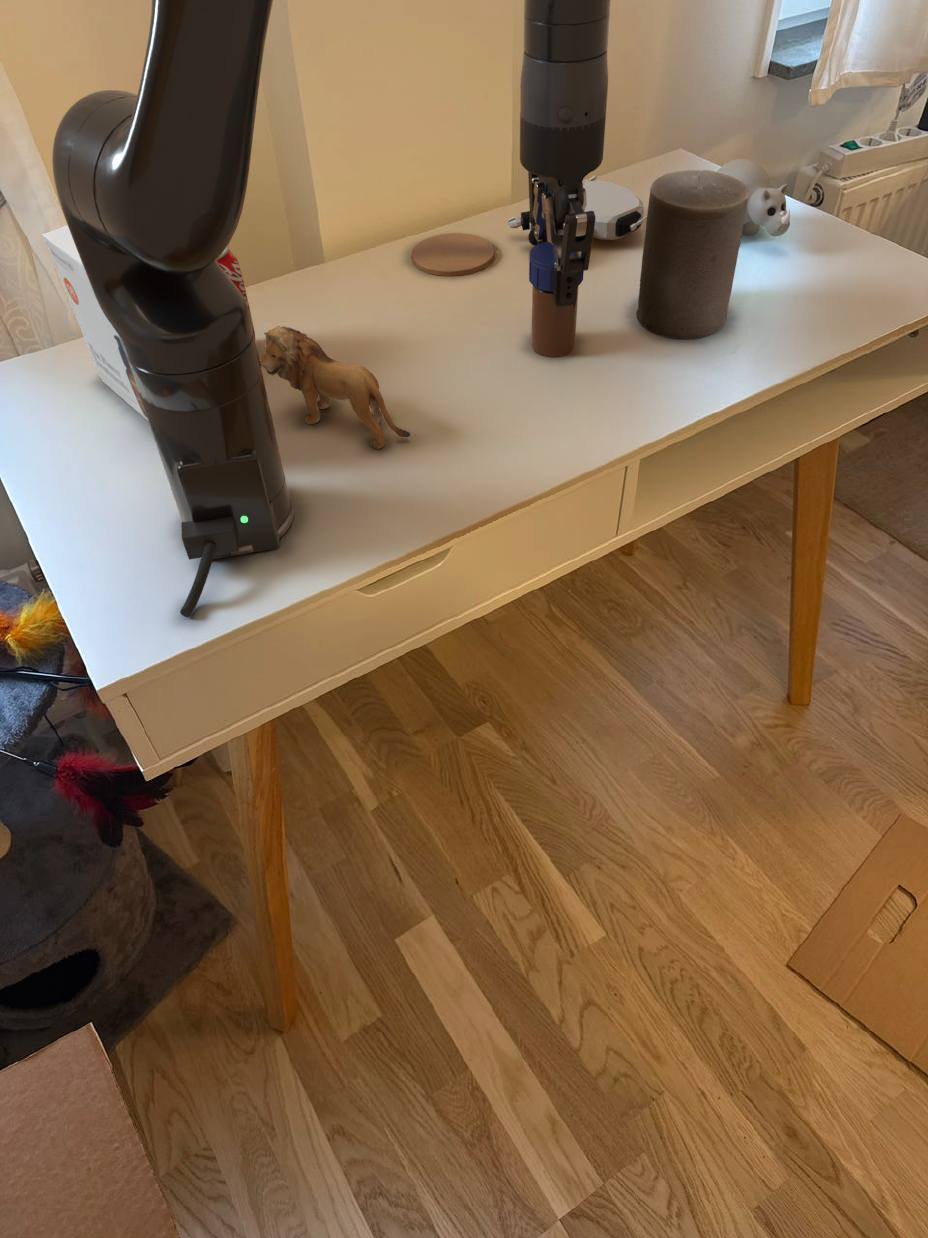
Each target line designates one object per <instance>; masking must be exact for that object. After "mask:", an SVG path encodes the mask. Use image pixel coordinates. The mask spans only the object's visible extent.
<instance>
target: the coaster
mask: <svg viewBox="0 0 928 1238" xmlns="http://www.w3.org/2000/svg"><path fill="white" fill-rule="evenodd" d="M494 259H495V248H494V246H493V244H492V243H491V242H490V241H489V240H487V239H485V238H483V237H482V236H478V235H474V234H469V233H461V232H458V233H457V232H456V233H455V232H452V233H444V234H437V235H434V236H430V237H428V238H424V239H423V240H421V241H419V242H418V243H417V244H415V245H414V247H413V248H412V250H411V261H412V263H413V265H414V266H415V267H416V268H417V269H419V270H420V271H422V272H425V273H427V274H431V275H435V276H442V277H456V276H465V275H469V274H473V273H476V272H479V271H482V270H483V269H485V268H487V267H488V266H489V265H491V263H492V262H493V261H494Z"/></svg>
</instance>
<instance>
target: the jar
mask: <svg viewBox="0 0 928 1238" xmlns="http://www.w3.org/2000/svg"><path fill="white" fill-rule="evenodd" d="M579 287H580V285H579V286H578V288H577V301H576V303H575V304H573V305H568V306H561V307H558V306H556V304H555V303H554V301H553V294H554V292H550V291H544V290H541V289H538V288H536V287H534V286H533V285H532V288H531V289H532V292H531V294H532V296H531V297H532V298H531V338H530V340H531V341H530V346H531V350H533V351H534V352H535V353H536V354H538V355H540V356H543V357H548V358H559V357H563V356H567V355H568V354H571V353H572V352H573V351H574V349H575V348H576V336H577V332H576V331H577V320H578V319H577V318H578V302H579Z"/></svg>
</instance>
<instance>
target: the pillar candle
mask: <svg viewBox="0 0 928 1238" xmlns="http://www.w3.org/2000/svg"><path fill="white" fill-rule="evenodd" d="M750 194H751V193H750V191H749V190H748V186H747V185H745V184H744V183H743V182H742V181H740V180H738V179H736V178H734V177H732V176H729V175H726V174H721V173H718V172H717V171H715V170H711V169H702V170H700V169H691V170H689V169H687V170H677V171H673V172H672V171H671V172H668V173H665V174H662V175H661V176H659V177H657V178H656V179H655V180H654V181H653V182H652V183H651V186H650V188H649V197H648V204H647V212H646V213H647V214H646V216H647V219H646V220H645V221H646V222H645V230H644V231H645V232H644V241H643V249H642V256H641V266H640V267H641V270H640V278H639V289H638V299H637V300H638V302H637V309H636V319H637V322H638V323H639V324H641V326H642V327H643V328H644V329H645V330H647V331H648V332H651V334H655V335H658V336H661V337H667V338H670V339H671V338H672V339H681V340H683V339H685V340H686V339H687V340H691V339H693V340H694V339H699V338H704V337H706V336H710V335H713V334H715V333H716V332H719V330H721V329H722V328H723V327H724V326H725V323H726V321H727V318H728V317H727V316H728V309H729V304H730V300H731V294H732V290H733V286H734V285H733V284H734V280H735V279H734V278H735V274H736V273H735V272H736V268H737V262H738V256H739V251H740V246H741V239H742V236H743V234H742V229H743V223H744V218H745V213H746V208H747V202H748V198H749V196H750Z"/></svg>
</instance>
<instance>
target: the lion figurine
mask: <svg viewBox="0 0 928 1238" xmlns="http://www.w3.org/2000/svg"><path fill="white" fill-rule="evenodd" d="M263 333H264V335H265V347H264V349H265V350H264V351H265V353H264V354H263V356H262V358H261V359H259V360H260V365H261V368H263V369H264V370H265V371H266V373H267V375H268V376H269V377H273V376H275V375H277V376H278V377H279V378H280V379H283V380H286V381H287V382H288V383H289V384H290V387H291V388H293V389H295V390H297V391H300V392H301V393H302V396H303V399H304V402H305V404H306V406H307V408H308V410H309V412H310V414H307V415H305V419H304V421H305V423H306V424H307V425H314V424H317V423H318V422H319V421H320V420H321V412H320V410H325V409H327V408H329V407H330V404H331V403H330V399H333V400H337V401H346V400H347V401H348V400H349V404H350V406H351V408H352V410H353V412H354V413H355V415H356V416H357V418H358V420H360V421H361V423H362V424H364V425H365V426H366V427H367V428H368V429H369V430H370V431H371V433H372V434H373V435H374V437H373V438H372V439H371V446H372V448H374V449H378V450H379V449H381V448H383V447H384V446H385V445H386V436H385V433H384V431H383V428H382V426H381V424H380V423H381V421H382V418H383V419H384V420H385V422H386V424H387V425H388V427H389V428H390V430H392V431H393V432H394V433H395V434H396V435H397V436H399V437H401V438H402V439H403V438H406V439H409V438H410V437H411V436H412V435H411V432H409V431H408V430H405V429H402V428H400V427H398V426H397V425H395V423H394V422H393V419H392V418H391V416H390V414H389V411H388V409H387V406H386V404H385V401H384V398H383V395H382V393H381V391H380V384H379V381H378V379H377V377H376V376H375V375H374V373H373V372H372V371H370V370H369V369H368V368H367V367H364V366H361V365H360V366H359V365H352V364H347V363H344V362H341V361H339V360H336V359H334V358H332V357H329V356H328V355H327V353H325V351H324V350H323V348H322V347H321V345H320V344H319V343H318V342H317V341H316V340H314V339H313V338H312V337H309V336H308V335H307V334H306V333H304V332H303V333H302V332H301V331H300V330H297V329H294V328H292V327H287V326H280V325H277V326H275V327H274V328H271V329H269V330H268V331H265V332H263ZM371 410H372V411H371Z"/></svg>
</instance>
